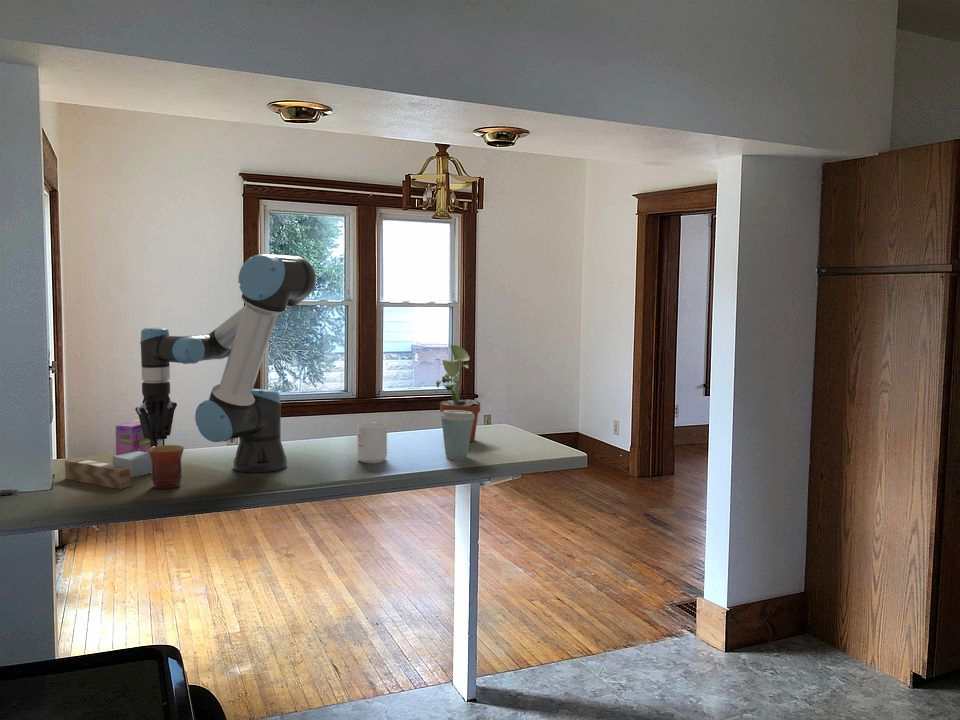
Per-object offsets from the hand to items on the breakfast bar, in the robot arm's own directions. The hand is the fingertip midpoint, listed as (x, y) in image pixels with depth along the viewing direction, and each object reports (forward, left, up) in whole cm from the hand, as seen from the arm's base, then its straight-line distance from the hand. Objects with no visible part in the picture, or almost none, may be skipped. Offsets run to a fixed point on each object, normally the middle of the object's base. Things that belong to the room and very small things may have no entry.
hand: (157, 461), depth 227 cm
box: (+11, -1, -2) cm, 11 cm away
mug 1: (-19, +13, -2) cm, 24 cm away
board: (-1, +21, -2) cm, 21 cm away
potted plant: (-58, -77, -2) cm, 97 cm away
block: (0, +8, -2) cm, 8 cm away
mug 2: (-48, -38, -2) cm, 61 cm away
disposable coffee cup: (-70, -54, -2) cm, 89 cm away
